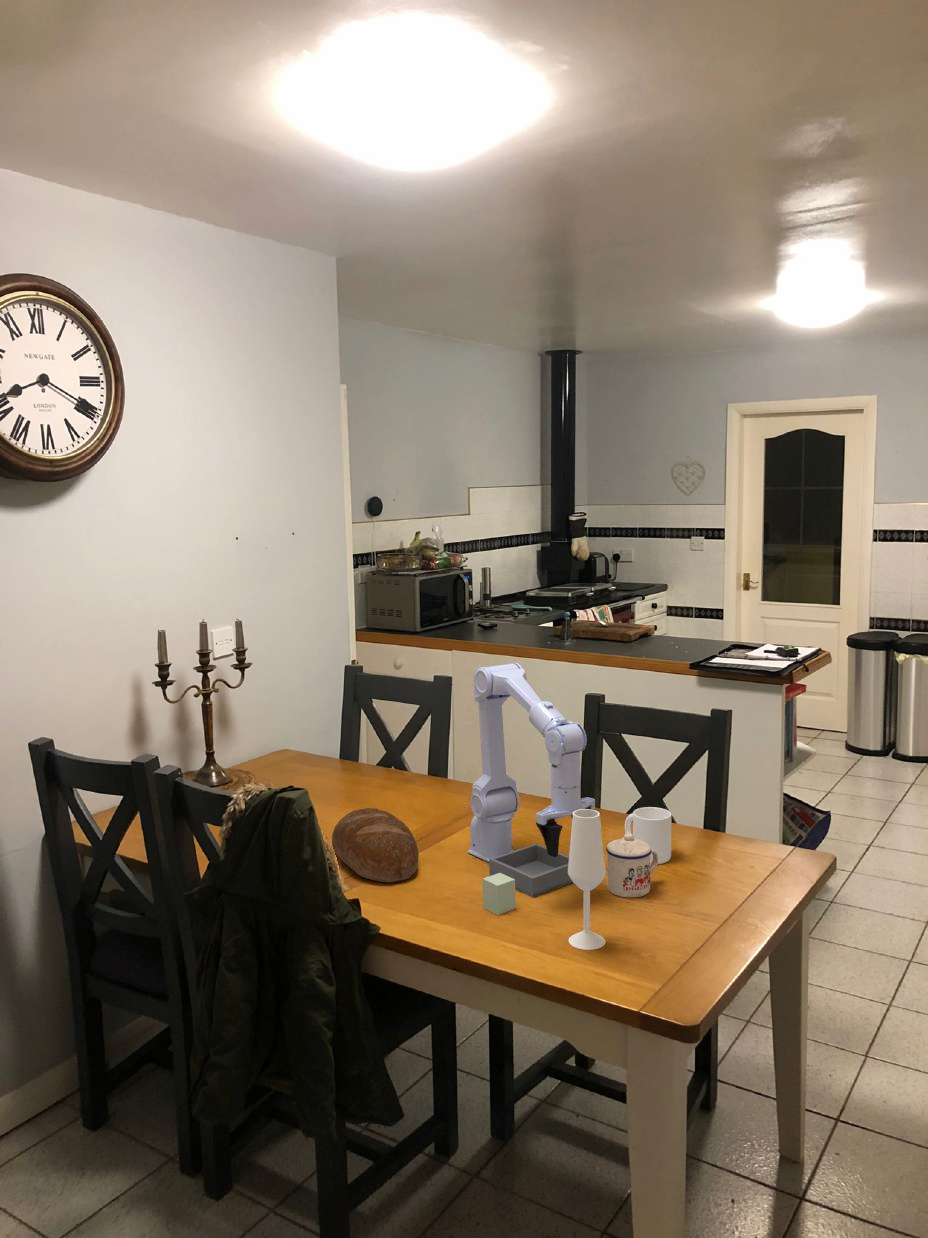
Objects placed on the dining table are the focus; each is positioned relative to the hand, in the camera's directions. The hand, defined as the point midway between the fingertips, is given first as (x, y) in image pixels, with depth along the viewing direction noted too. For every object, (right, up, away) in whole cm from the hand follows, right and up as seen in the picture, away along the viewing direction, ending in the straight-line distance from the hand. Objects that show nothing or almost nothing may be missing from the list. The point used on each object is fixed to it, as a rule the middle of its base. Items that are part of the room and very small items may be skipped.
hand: (566, 850), depth 190 cm
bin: (-5, -9, +11) cm, 15 cm away
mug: (+20, -7, +22) cm, 31 cm away
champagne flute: (+2, -12, -17) cm, 21 cm away
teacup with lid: (+14, -9, +5) cm, 18 cm away
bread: (-40, -8, +23) cm, 47 cm away
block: (-14, -11, -3) cm, 17 cm away
